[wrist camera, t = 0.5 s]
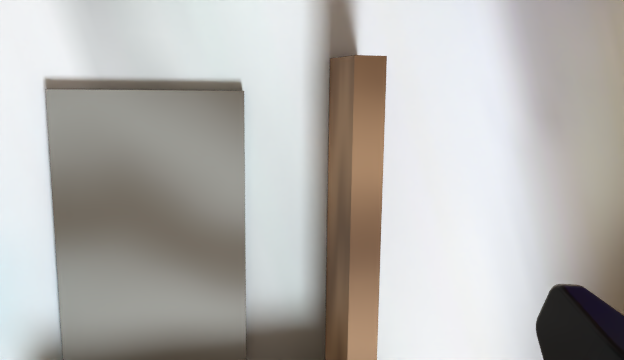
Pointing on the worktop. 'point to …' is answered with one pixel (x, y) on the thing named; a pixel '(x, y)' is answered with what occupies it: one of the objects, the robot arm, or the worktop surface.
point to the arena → (199, 218)
